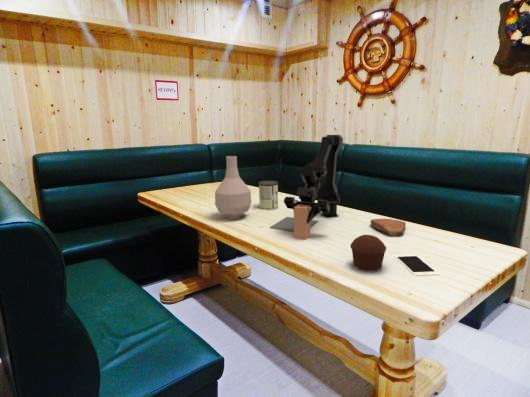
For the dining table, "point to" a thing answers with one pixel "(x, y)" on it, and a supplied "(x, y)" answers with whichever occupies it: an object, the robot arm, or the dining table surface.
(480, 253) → the dining table surface
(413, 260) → the cell phone
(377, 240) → the muffin
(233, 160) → the vase
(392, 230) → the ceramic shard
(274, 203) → the coffee can
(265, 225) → the dining table surface
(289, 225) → the charcoal mat
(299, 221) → the terracotta block
